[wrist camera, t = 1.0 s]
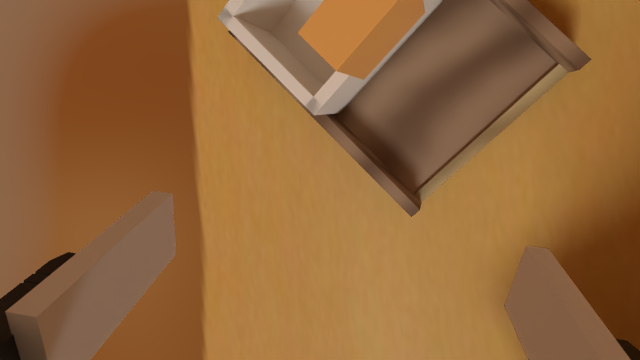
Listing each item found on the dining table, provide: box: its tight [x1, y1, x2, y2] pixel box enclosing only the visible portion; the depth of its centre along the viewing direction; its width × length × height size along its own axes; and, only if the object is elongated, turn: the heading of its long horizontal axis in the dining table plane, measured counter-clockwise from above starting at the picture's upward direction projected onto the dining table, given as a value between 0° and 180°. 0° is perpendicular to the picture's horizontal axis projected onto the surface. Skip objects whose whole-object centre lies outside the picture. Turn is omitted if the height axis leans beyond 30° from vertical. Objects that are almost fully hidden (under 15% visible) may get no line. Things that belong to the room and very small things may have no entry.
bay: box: [228, 0, 591, 217], centre depth 35 cm, size 24×18×4 cm
